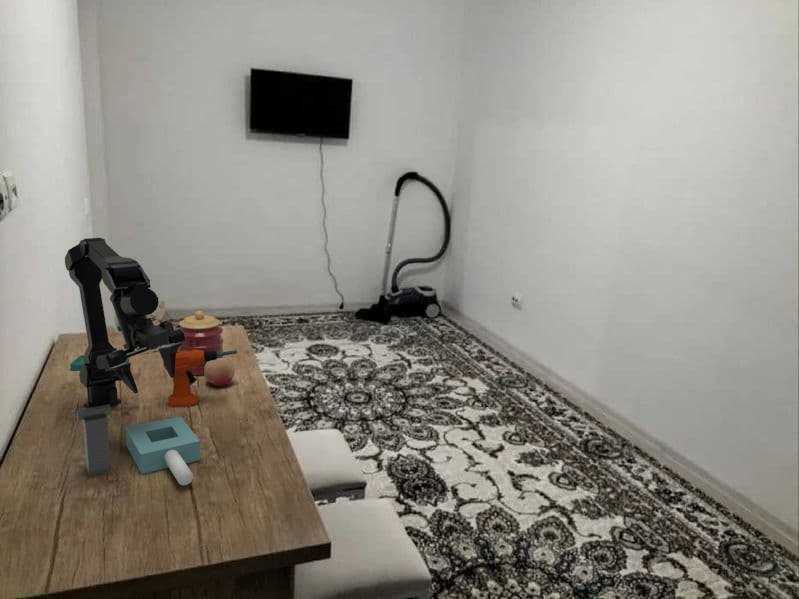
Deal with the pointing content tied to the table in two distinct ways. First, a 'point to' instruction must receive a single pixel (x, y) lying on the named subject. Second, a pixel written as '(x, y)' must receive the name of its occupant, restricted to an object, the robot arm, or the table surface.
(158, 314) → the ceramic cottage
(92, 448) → the grey t-shaped bar
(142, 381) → the table surface
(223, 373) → the fruit
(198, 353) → the toy drill
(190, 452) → the block
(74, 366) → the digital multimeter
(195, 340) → the canister
